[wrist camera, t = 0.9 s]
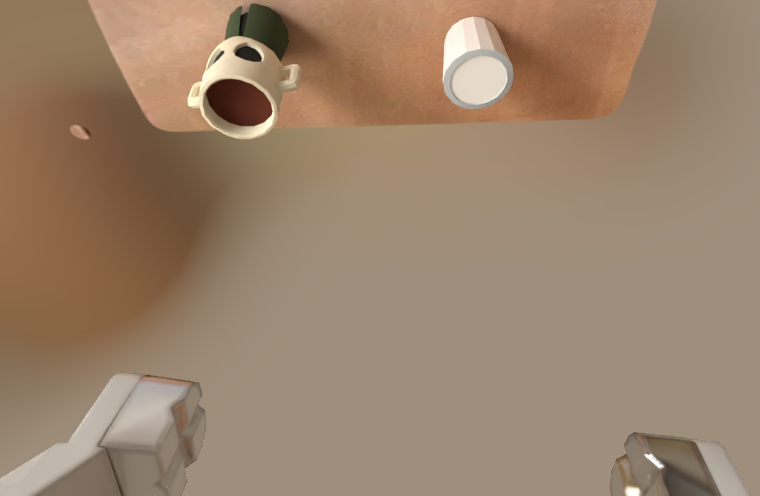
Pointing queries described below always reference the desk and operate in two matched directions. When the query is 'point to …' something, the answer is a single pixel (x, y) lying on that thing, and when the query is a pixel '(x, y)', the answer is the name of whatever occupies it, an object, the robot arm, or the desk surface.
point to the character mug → (246, 75)
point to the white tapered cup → (475, 64)
